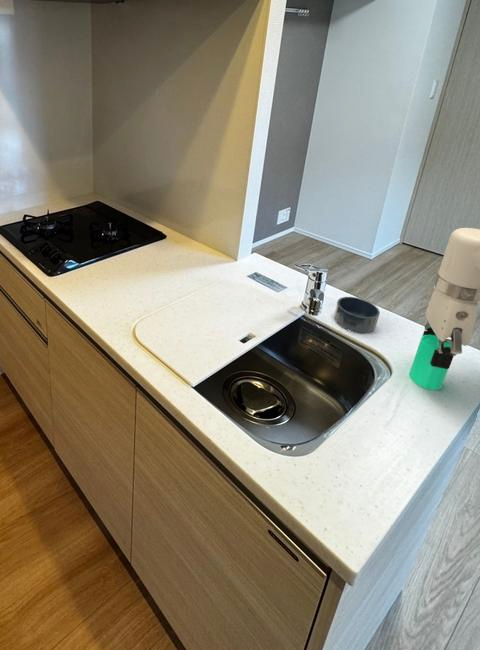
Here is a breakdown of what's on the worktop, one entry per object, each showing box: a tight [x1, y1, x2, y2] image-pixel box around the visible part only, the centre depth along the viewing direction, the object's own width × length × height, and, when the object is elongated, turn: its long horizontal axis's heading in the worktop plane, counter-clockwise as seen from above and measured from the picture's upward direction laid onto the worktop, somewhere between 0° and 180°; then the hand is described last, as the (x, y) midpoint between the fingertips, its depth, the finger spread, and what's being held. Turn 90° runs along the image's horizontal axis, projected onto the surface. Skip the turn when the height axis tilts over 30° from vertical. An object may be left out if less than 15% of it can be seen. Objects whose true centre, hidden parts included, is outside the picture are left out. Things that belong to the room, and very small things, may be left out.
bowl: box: [333, 296, 380, 335], centre depth 113 cm, size 10×10×5 cm
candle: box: [408, 334, 451, 391], centre depth 92 cm, size 6×6×12 cm
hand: (433, 355), depth 91 cm, fingers closed on candle, 5 cm apart
